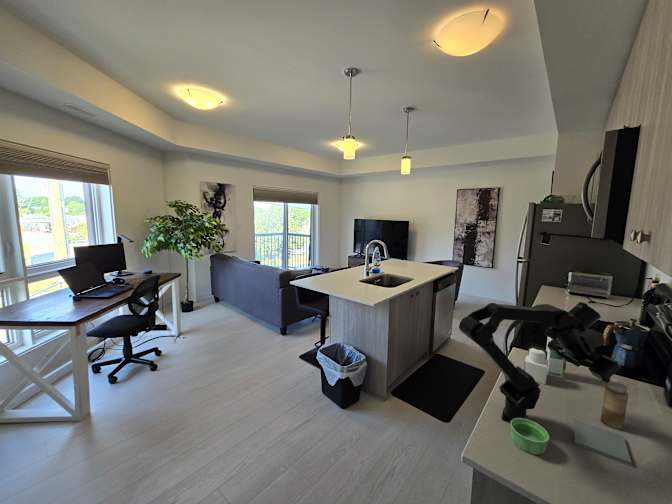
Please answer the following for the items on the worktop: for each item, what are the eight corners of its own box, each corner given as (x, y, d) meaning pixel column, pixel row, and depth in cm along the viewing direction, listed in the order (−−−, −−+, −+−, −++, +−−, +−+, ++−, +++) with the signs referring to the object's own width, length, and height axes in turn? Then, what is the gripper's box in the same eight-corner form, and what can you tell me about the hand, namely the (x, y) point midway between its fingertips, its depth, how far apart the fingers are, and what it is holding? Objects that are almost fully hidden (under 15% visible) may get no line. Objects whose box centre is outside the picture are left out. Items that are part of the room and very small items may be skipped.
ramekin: (540, 463, 72) (542, 447, 72) (503, 440, 80) (504, 426, 79) (552, 446, 78) (554, 432, 77) (516, 426, 85) (518, 413, 84)
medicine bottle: (525, 370, 116) (528, 342, 114) (546, 376, 111) (549, 348, 110) (523, 377, 110) (526, 349, 109) (545, 384, 106) (549, 355, 104)
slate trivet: (631, 466, 72) (631, 462, 72) (575, 444, 78) (575, 441, 78) (622, 439, 80) (623, 436, 80) (572, 421, 87) (573, 418, 87)
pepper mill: (624, 432, 83) (631, 391, 81) (601, 424, 86) (607, 385, 84) (621, 422, 87) (627, 383, 85) (599, 415, 90) (604, 377, 88)
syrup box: (546, 375, 112) (550, 341, 110) (543, 368, 118) (547, 335, 116) (564, 379, 110) (568, 344, 108) (560, 371, 115) (565, 338, 113)
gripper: (622, 335, 77) (647, 374, 80) (561, 311, 95) (583, 344, 98) (591, 360, 77) (617, 398, 80) (536, 332, 95) (559, 364, 98)
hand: (592, 373), depth 89 cm, fingers open, 9 cm apart
